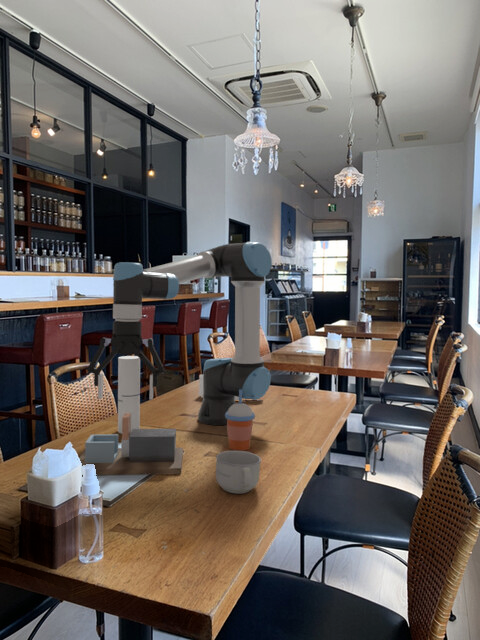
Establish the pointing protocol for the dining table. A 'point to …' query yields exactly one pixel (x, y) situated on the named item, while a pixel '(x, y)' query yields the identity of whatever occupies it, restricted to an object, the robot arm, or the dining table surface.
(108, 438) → the socket block
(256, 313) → the robot arm
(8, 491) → the dining table surface
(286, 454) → the dining table surface
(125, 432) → the grey block with peg
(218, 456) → the teacup
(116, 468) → the walnut base board
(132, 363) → the cylindrical container
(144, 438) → the outer sleeve
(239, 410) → the cup with straw
